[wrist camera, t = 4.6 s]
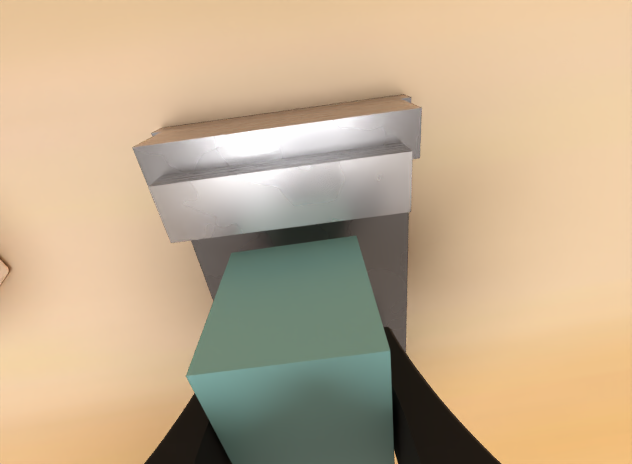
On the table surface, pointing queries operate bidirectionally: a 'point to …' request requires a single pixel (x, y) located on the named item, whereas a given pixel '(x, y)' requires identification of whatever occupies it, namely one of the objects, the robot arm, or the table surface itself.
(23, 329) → the table surface
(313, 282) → the block
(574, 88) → the table surface
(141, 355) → the table surface
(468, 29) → the table surface
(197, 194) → the vise
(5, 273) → the jar
